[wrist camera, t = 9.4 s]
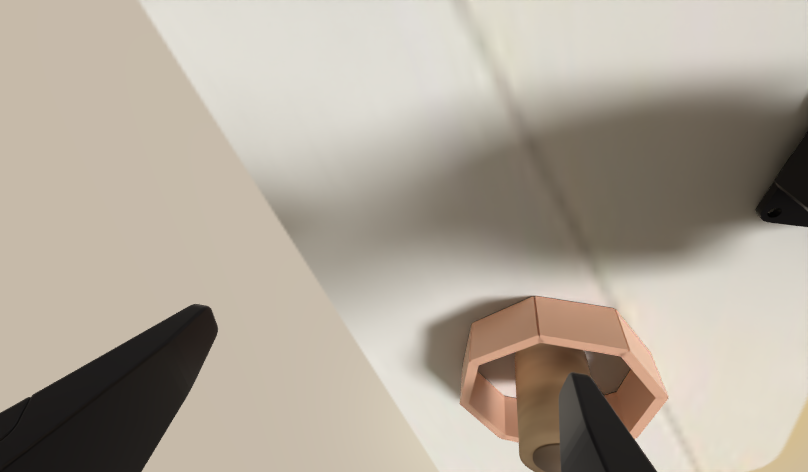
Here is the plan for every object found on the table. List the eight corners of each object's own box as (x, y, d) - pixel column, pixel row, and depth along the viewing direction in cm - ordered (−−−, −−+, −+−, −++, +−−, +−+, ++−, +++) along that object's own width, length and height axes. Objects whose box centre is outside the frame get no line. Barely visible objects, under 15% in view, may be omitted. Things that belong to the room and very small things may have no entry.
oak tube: (596, 344, 25) (624, 450, 19) (574, 386, 27) (594, 489, 22) (522, 331, 25) (530, 431, 20) (508, 374, 28) (512, 471, 23)
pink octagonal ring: (675, 318, 22) (697, 361, 20) (607, 420, 29) (617, 462, 26) (479, 287, 24) (477, 324, 21) (457, 391, 30) (453, 428, 28)
